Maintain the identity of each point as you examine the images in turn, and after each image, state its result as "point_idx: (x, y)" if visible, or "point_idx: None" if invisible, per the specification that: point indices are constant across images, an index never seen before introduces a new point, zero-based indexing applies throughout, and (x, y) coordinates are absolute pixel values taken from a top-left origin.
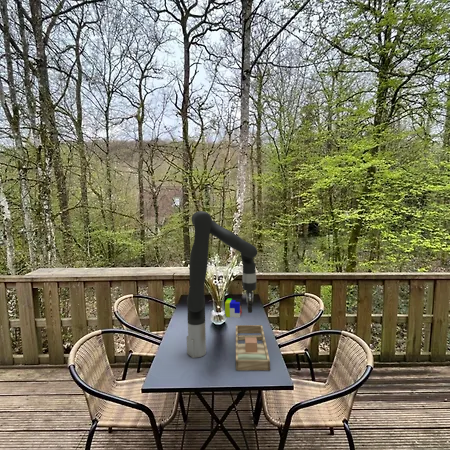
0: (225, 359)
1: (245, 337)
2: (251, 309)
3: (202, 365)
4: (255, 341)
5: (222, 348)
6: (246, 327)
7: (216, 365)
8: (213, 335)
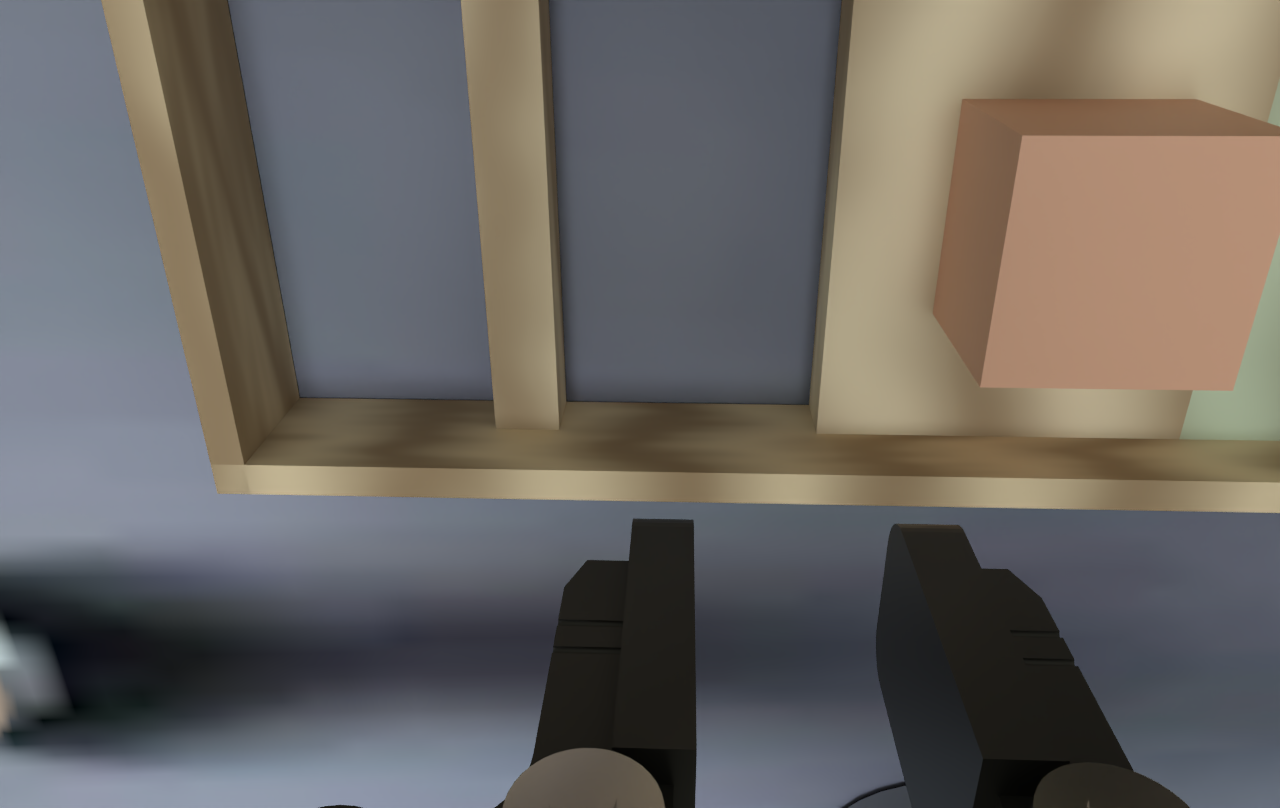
0: (1148, 570)
1: (984, 379)
2: (1000, 630)
3: (1222, 799)
4: (1232, 171)
5: (826, 608)
6: (220, 278)
7: (1271, 666)
8: (425, 721)
